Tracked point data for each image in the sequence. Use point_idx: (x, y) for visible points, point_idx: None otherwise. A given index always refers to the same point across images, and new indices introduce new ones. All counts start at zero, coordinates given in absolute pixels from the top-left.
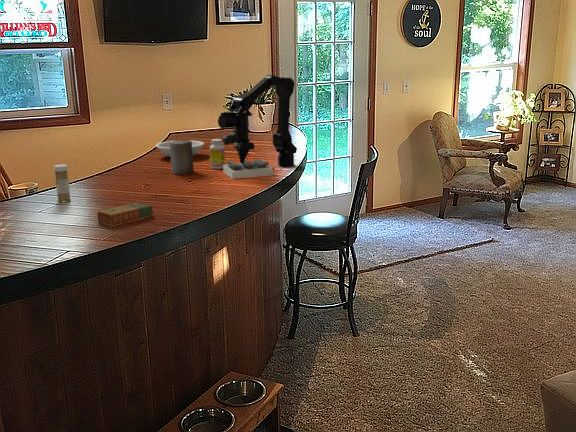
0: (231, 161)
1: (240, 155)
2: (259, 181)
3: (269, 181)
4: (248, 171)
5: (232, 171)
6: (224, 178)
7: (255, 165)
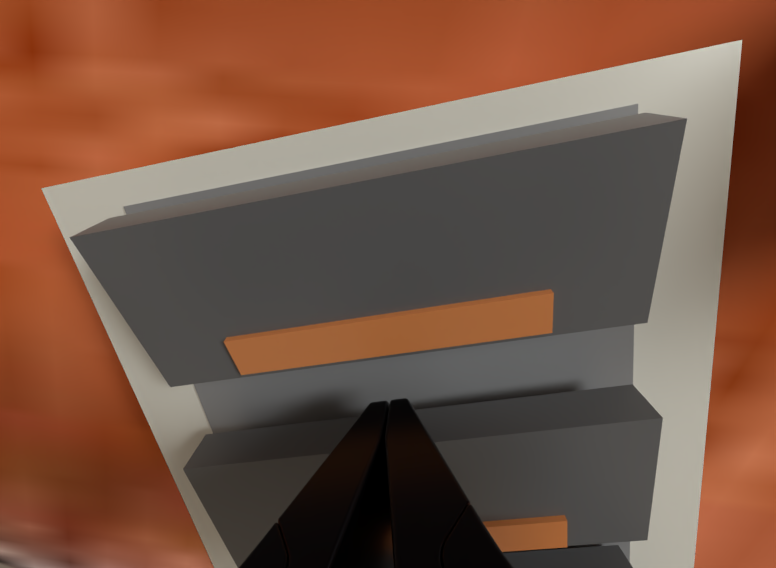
0: (629, 238)
1: (260, 553)
2: (22, 438)
3: (30, 508)
4: (159, 414)
5: (69, 197)
6: (163, 72)
7: (244, 554)
